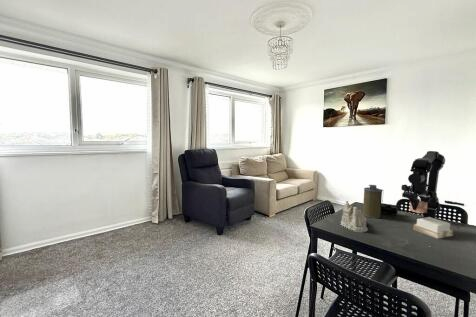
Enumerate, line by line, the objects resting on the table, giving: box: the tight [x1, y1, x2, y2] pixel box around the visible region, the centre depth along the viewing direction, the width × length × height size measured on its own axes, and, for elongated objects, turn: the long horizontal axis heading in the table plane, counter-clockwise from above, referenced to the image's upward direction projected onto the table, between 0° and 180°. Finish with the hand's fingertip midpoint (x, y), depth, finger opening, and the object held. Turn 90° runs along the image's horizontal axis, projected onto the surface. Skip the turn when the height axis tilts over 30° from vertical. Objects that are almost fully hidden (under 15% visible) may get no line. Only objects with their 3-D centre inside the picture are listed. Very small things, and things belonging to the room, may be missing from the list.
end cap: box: [380, 202, 399, 218], centre depth 155 cm, size 10×7×7 cm
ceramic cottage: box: [340, 200, 369, 233], centre depth 135 cm, size 16×16×15 cm
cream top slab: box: [416, 217, 451, 232], centre depth 126 cm, size 10×10×4 cm
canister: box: [362, 184, 384, 219], centre depth 152 cm, size 11×10×20 cm
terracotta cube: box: [409, 200, 427, 214], centre depth 131 cm, size 6×6×6 cm
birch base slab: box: [413, 223, 454, 240], centre depth 127 cm, size 12×12×4 cm
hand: (418, 209), depth 131 cm, fingers closed on terracotta cube, 5 cm apart
